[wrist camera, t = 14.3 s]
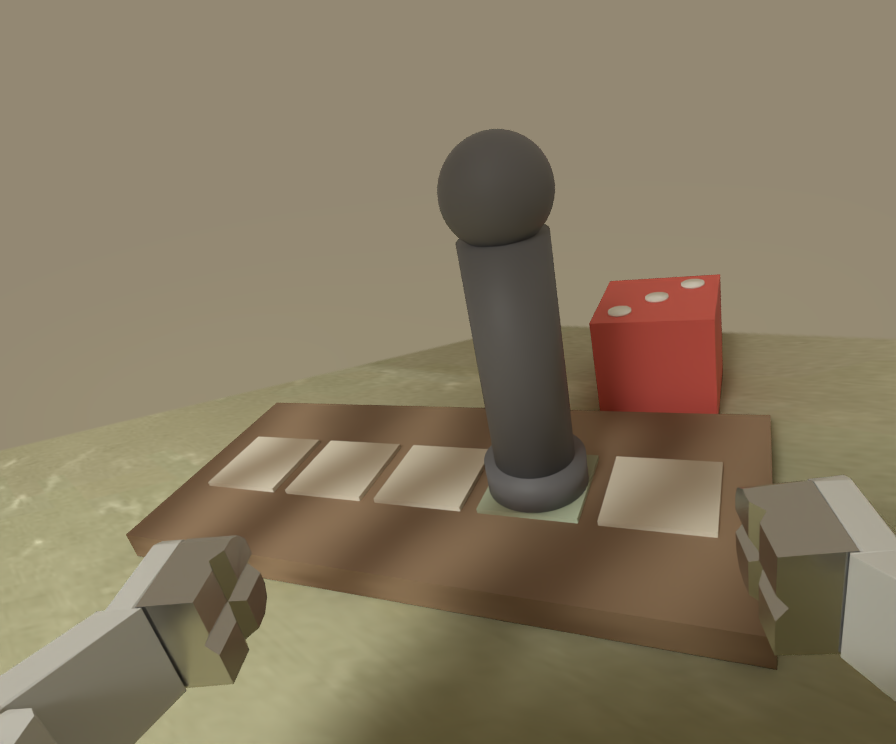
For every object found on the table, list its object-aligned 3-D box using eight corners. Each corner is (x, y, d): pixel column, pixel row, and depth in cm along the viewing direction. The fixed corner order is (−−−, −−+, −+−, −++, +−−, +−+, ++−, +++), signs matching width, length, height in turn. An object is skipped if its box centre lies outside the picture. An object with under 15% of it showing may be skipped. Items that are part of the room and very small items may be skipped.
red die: (601, 421, 30) (589, 321, 28) (619, 370, 34) (610, 279, 32) (718, 425, 28) (714, 317, 26) (722, 369, 32) (719, 272, 29)
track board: (137, 555, 28) (124, 531, 28) (283, 420, 37) (275, 399, 36) (776, 669, 17) (777, 633, 17) (769, 440, 26) (770, 411, 25)
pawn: (474, 506, 24) (401, 150, 18) (507, 448, 27) (453, 128, 21) (575, 518, 22) (528, 132, 17) (598, 456, 25) (565, 111, 20)
